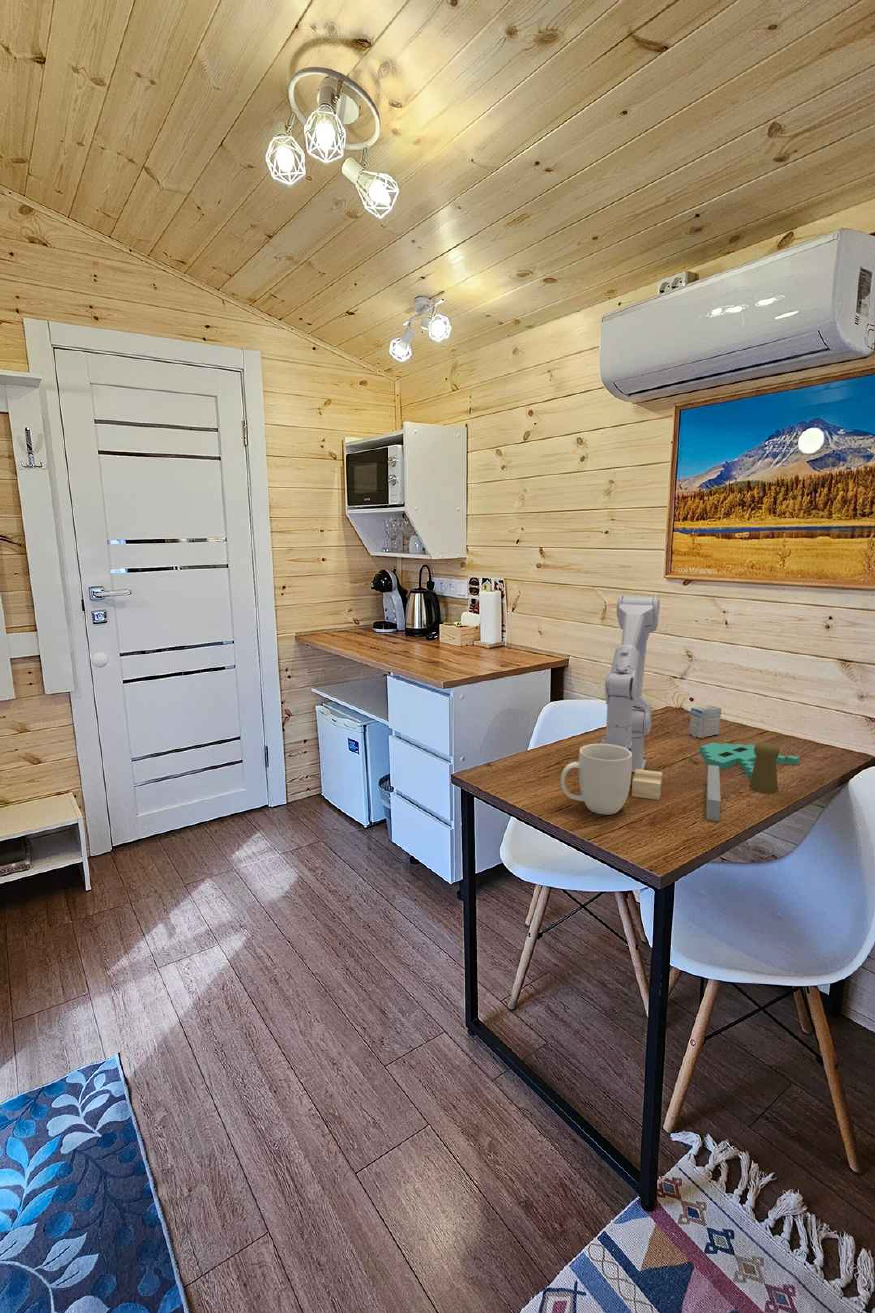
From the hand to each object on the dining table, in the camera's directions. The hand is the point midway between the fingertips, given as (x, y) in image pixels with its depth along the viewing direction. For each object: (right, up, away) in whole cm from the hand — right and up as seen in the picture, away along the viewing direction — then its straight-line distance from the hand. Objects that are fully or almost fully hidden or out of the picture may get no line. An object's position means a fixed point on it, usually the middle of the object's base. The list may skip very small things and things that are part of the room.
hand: (616, 779), depth 147 cm
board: (+19, -3, -8) cm, 21 cm away
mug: (-7, -4, -11) cm, 14 cm away
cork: (+34, -2, -1) cm, 34 cm away
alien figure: (+38, +1, +18) cm, 42 cm away
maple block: (+6, -3, -2) cm, 7 cm away
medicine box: (+37, +5, +39) cm, 54 cm away
